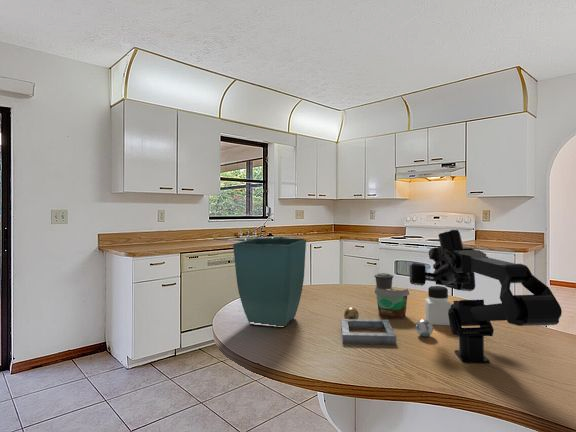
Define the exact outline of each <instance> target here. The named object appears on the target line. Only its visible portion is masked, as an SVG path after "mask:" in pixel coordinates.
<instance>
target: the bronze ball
mask: <svg viewBox="0 0 576 432" xmlns="http://www.w3.org/2000/svg"><path fill="white" fill-rule="evenodd" d="M359 316H360V313H359V311H358V310H357V308H354V307H348V308H346V309H345V310H344V312H343V319H359Z"/></svg>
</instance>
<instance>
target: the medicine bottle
mask: <svg viewBox="0 0 576 432" xmlns="http://www.w3.org/2000/svg"><path fill="white" fill-rule="evenodd" d="M427 295H428V298H425V300H424V303H425V304H424V305H425V307H424V309H425V311H424V312H425V313H424V314H425V318H424V319H425V320H428V321H429V322H430V323H431V324H432V326H446V327H447V326H449V327H450V323H449V316H448V311H449V309H450V308H451V307H450V306H451V305H452V304H453V303H451V302H450V300H449V289H448V287H446V286H444V285H431V286H429V287H428V294H427Z"/></svg>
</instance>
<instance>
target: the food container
mask: <svg viewBox="0 0 576 432" xmlns="http://www.w3.org/2000/svg"><path fill="white" fill-rule="evenodd" d="M373 293H374V294H375V295H376V302H377V311H378V312H377V313H378V315H379V316H380V317H382V318H384V319H392V320H393V319H395V320H397V319H402V318H405V317H406V315H407V314H406V312H407V303H408V296H409V295H410V291H409V288H406V289H403V290H401V289H400V290H399V289H396V288H391V289H378V288H377V286H375V288H374V292H373Z"/></svg>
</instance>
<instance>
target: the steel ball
mask: <svg viewBox="0 0 576 432" xmlns="http://www.w3.org/2000/svg"><path fill="white" fill-rule="evenodd" d="M433 331H434V325H432V324H431V323H430V322H429V321H428V320H426V318H424V319H419V320H417V322H416V323H415V332H416V333H417V334H418V335H419V336H420V337H423V338H427V337H429V336H431V335H432V334H433Z"/></svg>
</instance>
